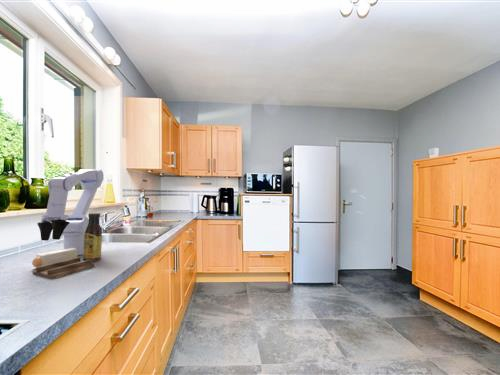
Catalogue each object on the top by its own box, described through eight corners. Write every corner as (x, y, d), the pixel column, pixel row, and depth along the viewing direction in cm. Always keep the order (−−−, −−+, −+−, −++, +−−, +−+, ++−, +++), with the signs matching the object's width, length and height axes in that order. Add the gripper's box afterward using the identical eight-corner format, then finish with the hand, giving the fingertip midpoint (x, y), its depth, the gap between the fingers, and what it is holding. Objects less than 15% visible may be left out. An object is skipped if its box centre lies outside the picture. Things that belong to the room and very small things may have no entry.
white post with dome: (71, 259, 100) (71, 247, 101) (77, 260, 99) (77, 248, 99) (29, 269, 88) (30, 255, 88) (35, 271, 86) (35, 257, 86)
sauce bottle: (79, 261, 97) (80, 213, 97) (94, 257, 103) (95, 212, 103) (90, 263, 94) (91, 214, 95) (105, 259, 100) (105, 212, 100)
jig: (75, 262, 96) (75, 256, 96) (94, 266, 91) (95, 260, 91) (32, 273, 83) (32, 266, 83) (52, 279, 78) (52, 271, 78)
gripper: (34, 206, 95) (27, 240, 91) (56, 201, 89) (49, 238, 86) (54, 208, 101) (48, 241, 98) (75, 204, 96) (70, 239, 92)
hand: (50, 239), depth 92 cm, fingers open, 7 cm apart
